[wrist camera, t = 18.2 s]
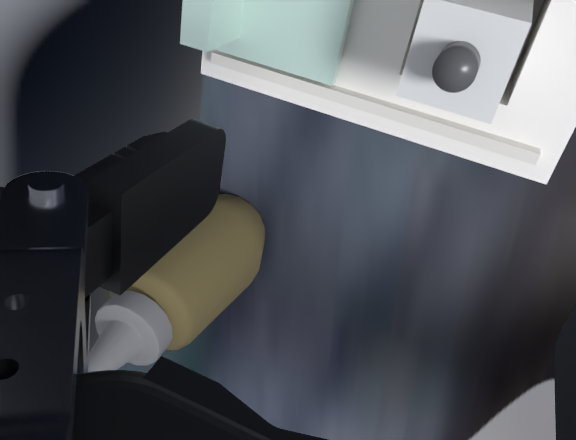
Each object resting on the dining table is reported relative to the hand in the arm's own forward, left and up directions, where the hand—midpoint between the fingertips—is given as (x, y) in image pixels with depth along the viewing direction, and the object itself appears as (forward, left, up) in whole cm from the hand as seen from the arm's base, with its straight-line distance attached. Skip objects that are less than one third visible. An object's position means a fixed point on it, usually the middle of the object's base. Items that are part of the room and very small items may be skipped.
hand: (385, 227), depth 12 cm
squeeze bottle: (+13, +19, -24) cm, 34 cm away
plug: (0, -1, -23) cm, 23 cm away
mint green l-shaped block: (+10, -1, -18) cm, 20 cm away
